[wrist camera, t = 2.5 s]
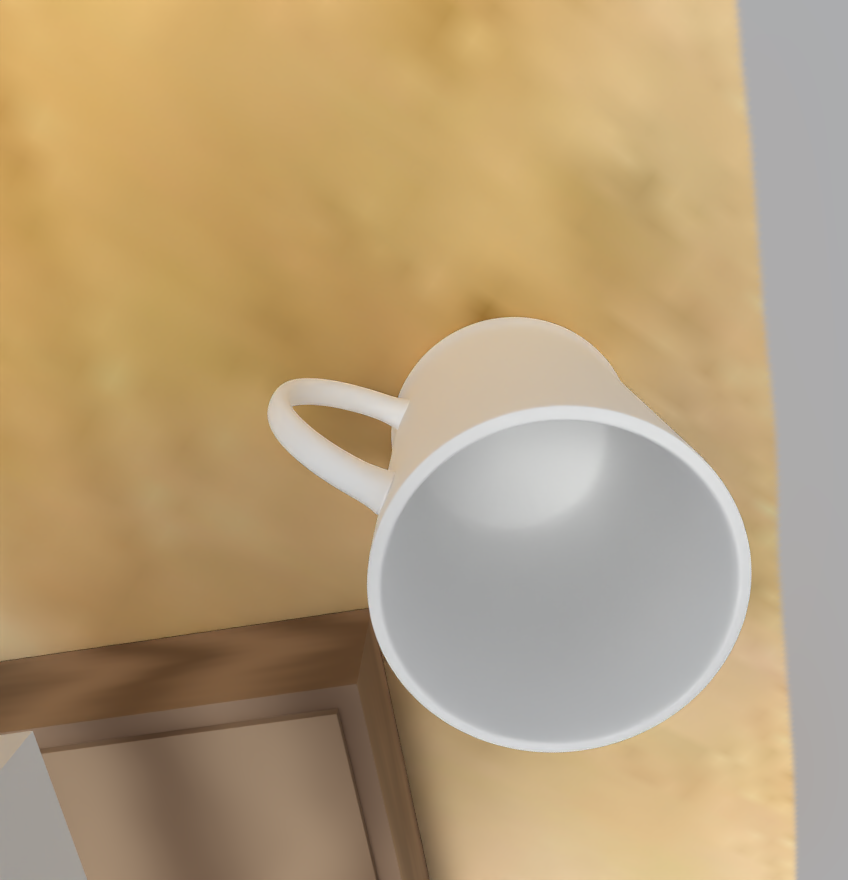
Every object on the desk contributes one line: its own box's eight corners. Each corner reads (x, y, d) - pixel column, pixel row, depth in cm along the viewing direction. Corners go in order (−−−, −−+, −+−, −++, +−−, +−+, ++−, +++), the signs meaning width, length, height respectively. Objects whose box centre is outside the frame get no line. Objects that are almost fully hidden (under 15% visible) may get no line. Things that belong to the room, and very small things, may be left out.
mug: (271, 436, 28) (148, 593, 16) (380, 222, 25) (328, 226, 14) (550, 582, 29) (619, 821, 18) (676, 390, 27) (851, 519, 15)
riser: (96, 966, 35) (36, 1094, 30) (-19, 664, 31) (-112, 753, 26) (439, 928, 34) (438, 1053, 29) (371, 608, 29) (355, 689, 24)
